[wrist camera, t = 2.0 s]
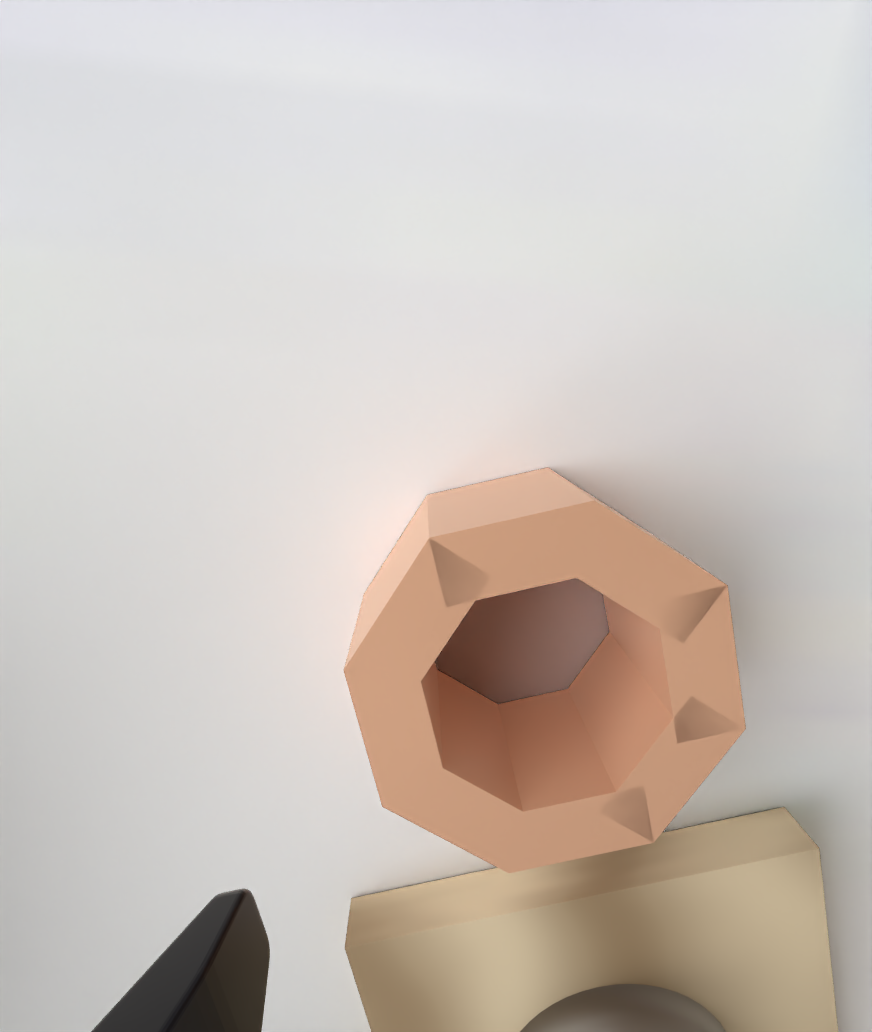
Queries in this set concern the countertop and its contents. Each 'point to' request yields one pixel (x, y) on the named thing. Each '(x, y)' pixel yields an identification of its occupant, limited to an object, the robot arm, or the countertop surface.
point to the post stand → (610, 940)
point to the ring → (552, 716)
